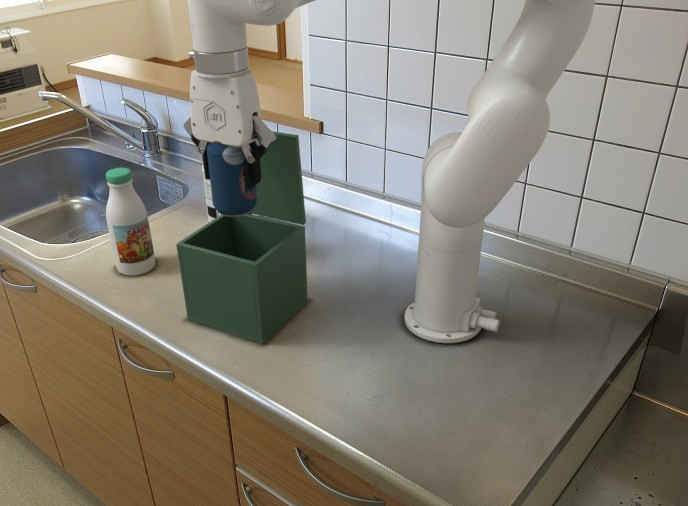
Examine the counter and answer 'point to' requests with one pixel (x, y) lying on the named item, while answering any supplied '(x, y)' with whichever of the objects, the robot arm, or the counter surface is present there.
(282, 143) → the bread box lid
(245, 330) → the bread box
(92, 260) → the counter surface
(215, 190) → the soda can
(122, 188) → the milk bottle
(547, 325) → the counter surface
